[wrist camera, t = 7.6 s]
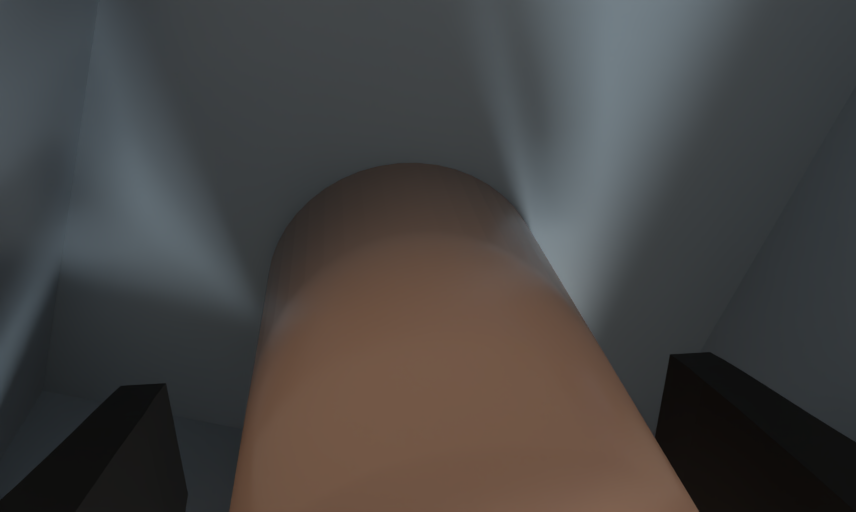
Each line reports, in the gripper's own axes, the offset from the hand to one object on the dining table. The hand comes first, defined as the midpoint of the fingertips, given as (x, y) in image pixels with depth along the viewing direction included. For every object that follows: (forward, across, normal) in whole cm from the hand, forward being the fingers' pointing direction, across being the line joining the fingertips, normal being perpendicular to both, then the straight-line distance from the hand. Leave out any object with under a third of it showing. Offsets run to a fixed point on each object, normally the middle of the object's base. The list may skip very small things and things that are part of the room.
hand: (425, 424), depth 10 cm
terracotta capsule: (+3, 0, 0) cm, 3 cm away
